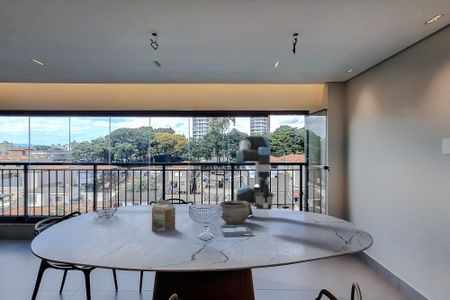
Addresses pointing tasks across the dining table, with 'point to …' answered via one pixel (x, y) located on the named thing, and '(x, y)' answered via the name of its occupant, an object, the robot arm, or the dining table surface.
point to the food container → (260, 200)
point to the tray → (235, 231)
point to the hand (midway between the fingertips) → (263, 206)
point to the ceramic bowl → (235, 211)
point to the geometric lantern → (105, 193)
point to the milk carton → (163, 216)
